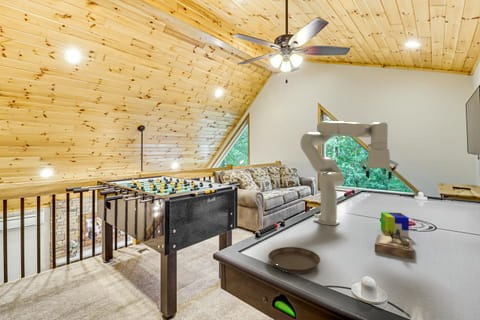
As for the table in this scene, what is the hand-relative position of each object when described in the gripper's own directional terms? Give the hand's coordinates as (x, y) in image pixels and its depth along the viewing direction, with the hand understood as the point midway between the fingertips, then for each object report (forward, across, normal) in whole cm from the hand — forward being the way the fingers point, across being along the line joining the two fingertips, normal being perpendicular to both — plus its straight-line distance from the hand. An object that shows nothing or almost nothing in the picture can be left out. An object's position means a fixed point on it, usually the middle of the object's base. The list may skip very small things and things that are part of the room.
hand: (378, 179), depth 129 cm
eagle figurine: (+26, +10, -17) cm, 33 cm away
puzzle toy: (+31, +7, +10) cm, 33 cm away
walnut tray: (+30, +8, -16) cm, 35 cm away
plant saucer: (+31, -25, -54) cm, 67 cm away
